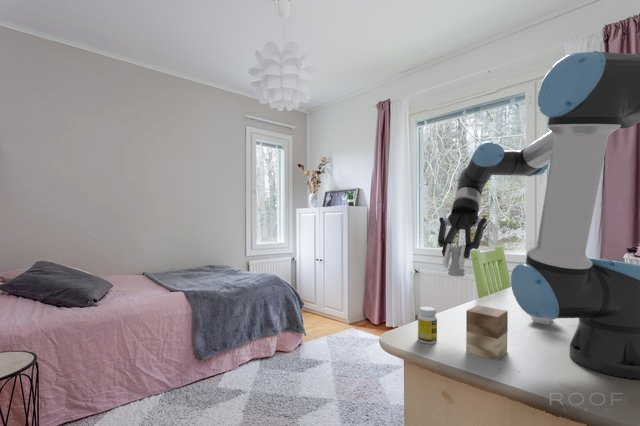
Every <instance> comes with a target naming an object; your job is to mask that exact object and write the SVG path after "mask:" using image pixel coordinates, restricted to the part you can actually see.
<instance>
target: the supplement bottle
mask: <svg viewBox="0 0 640 426" xmlns="http://www.w3.org/2000/svg"><path fill="white" fill-rule="evenodd" d="M436 312H437V311H436V307H435V308H434V307H431V306H421V307H419V315H418V317H417V340H418V342H420V343H422V344H429V345H432V344H436V343H437V341H438V317H437V316H436V314H437V313H436Z"/></svg>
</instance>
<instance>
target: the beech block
mask: <svg viewBox="0 0 640 426" xmlns="http://www.w3.org/2000/svg"><path fill="white" fill-rule="evenodd" d="M465 339H466V341H465V342H466V343H465V344H466V345H465V346H466V348H465V351H466V353H470V354H473V355H476V356H479V357H483V358H487V359H490V360H494V361H499V360H500V359H501V358H502V357H503V356H505V355H506V354H507V353H508V332H506V333H505V334H504V335H502V336H501V337H500V338H499V339H495V338H491V337H487V336H483V335H479V334H475V333H471V332H467V331H466V337H465Z"/></svg>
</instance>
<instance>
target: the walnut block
mask: <svg viewBox="0 0 640 426" xmlns="http://www.w3.org/2000/svg"><path fill="white" fill-rule="evenodd" d="M465 311H466V323H465V324H466V329H465V330H466V331H467V332H471V333H475V334H479V335H483V336H487V337H491V338H495V339H499V338H500V337H501V336H502V335H504V334H505V333H506V332H507V333H508V329H509V328H508V319H509V318H508V314H509V313H508V310H506V309H501V308H494V307H490V306H489V307H488V306H483V305H479V304H477V305H475V306H473V307H471V308H469V309H467V310H465Z"/></svg>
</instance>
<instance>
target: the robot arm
mask: <svg viewBox="0 0 640 426" xmlns="http://www.w3.org/2000/svg"><path fill="white" fill-rule="evenodd" d="M537 106H538V107H539V112H540V113H542V114H543V115H544V116H546V117H547V118H548V121H547V129H548V130H550V131H549V132H547V133H546V134H544V135H542V136H541V137H540V138H538V139H536V140H534V141H533V142H532V143H530V144H528V145H527V146H525V147H524V148H522V149H520V150H507V149H505V150H504V148H503V147H502V145H500V144H498V143H494V142H492V141H484V142H482V143H480V144H479V145H478V147H477V148H476V149H475V151H474V152H473V154H472V155H471V156H472V157H471V159H470V161H469V163H468V165H467V166H466V168H464V169H463V170H462V171H461V173H460V176H459V177H458V185H457V188H456V192H455V195H454V200H453V203H452V206H451V207H452V208H451V212H450V214H449V215H448V217H445V218H444V217H439V232H438V236H437V244H438V246H439V247H440V248H442V250H441V254H442V257H443V260H442V263H443V266H444V268H445V269H449V264H450V259H451V257H452V256H451V255H452V252H451V250H450V249H451V248H452V244H453V242H454V239H455V238H456V235H457V233H458V232H459V230H460V231H461V230H464V235H465V237H464V238H465V241H464V243H465V244H461V253H460V258H459V267H460V269H463V268H464V267H465V261H466V259H469V258H470V256H471V251H472V250H473V249H475V250H478V249H479V248H480V245H481V241H482V237H483V233H484V230H485V229H486V227H488V221H487V218H486V217H482V218H480V217H479V211H480V206H481V202H482V201H481V199H482V195H483V190H484V188H485V187H486V184H487V183H488V181H489V180H490V178H491V177H492V176H523V177H524V176H526V177H532V176H541V175H543V174H544V173H546V170H547V169H548V168H549V169H548V175H547V180H546V187H545V191H544V192H545V193H544V199H543V205H542V212H541V217H540V223H539V230H538V236H537V241H536V246H535V247H532V248H531V249H529V250H528V251H527V254H526V258H525V259H526V260H525V262H523V263H519V264H517V265H516V266H515V267H514V268H513V269H512V270H511V271H512V272H511V275H510V284H511V291H512V294H513V296H514V298H515V301H516V302H517V305H519V307H520V308H521V309H522V310H523V312H525V313H526V314H527V315H529V316H530V317H531V316H533V317H536V318H548V319H553V320H557V319H578V324H577V327H576V329H575V332H574V334H573V337H572V338H571V341H570V344H569V350H568V351H569V352H568V353H569V357H570V358H571V359H572V360H573V361H574V362H575V363H577V364H579V365H581V366H584V367H586V368H588V369H590V370H593V371H596V372H599V373H602V374H606V375H609V376H613V375H614V377H618V376H620V378H624V377H627V378H626V379H630V378H636V379H635V380H640V264H638V263H632V262H625V261H619V260H612V259H605V258H599V257H591V256H587V255H586V252H587V247H588V246H587V245H588V243H589V236H590V231H591V226H592V222H593V218H594V211H595V205H596V201H597V196H598V191H599V186H600V180H601V175H602V170H603V165H604V160H605V156H606V150H607V144H608V142H609V141H608V139H609V136H610V135H611V134H613V133H614V132H616V131H617V130H627V129H630V128H631V127H634V126H635V125H637V124H639V123H640V53H626V52H625V53H624V52H623V53H622V52H621V53H620V52H609V51H608V52H607V51H606V52H605V51H599V50H594V51H588V52H587V51H585V52H573V53H571V54H568V55H566V56H564V57H562V58H561V59H560V60H557V62H556V63H554V65H553V66H552V68H551V69H550V70H548V72H546V75H545V76H544V78H543V79H542V82H541V83H540V87H539V91H538V95H537ZM449 223H450V225H451V226H450V228H449V230H448V232H447V227H448V225H449ZM476 224H477V226H476V229H475V234H474V237H473V241H472V235H471V233H472V227H474V226H475V225H476ZM446 232H447V234H446Z"/></svg>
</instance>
